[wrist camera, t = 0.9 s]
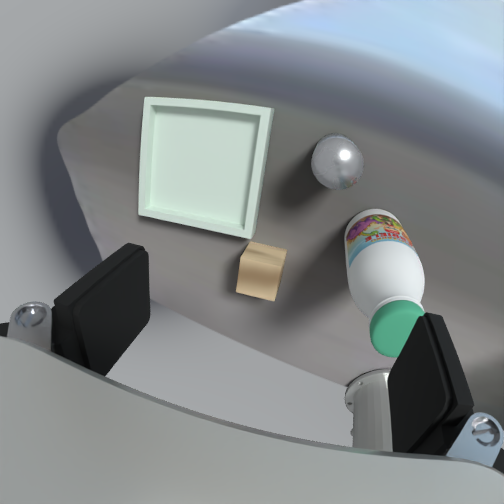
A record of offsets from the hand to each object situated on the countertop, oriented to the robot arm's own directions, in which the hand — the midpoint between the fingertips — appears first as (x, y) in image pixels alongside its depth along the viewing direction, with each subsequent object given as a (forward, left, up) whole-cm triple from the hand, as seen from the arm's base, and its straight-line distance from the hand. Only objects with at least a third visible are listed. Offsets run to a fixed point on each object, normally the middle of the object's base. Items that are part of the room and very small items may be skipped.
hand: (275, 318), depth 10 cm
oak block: (-14, +4, -30) cm, 34 cm away
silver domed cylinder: (+2, -2, -30) cm, 30 cm away
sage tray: (-2, +14, -30) cm, 33 cm away
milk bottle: (-7, -9, -31) cm, 33 cm away
